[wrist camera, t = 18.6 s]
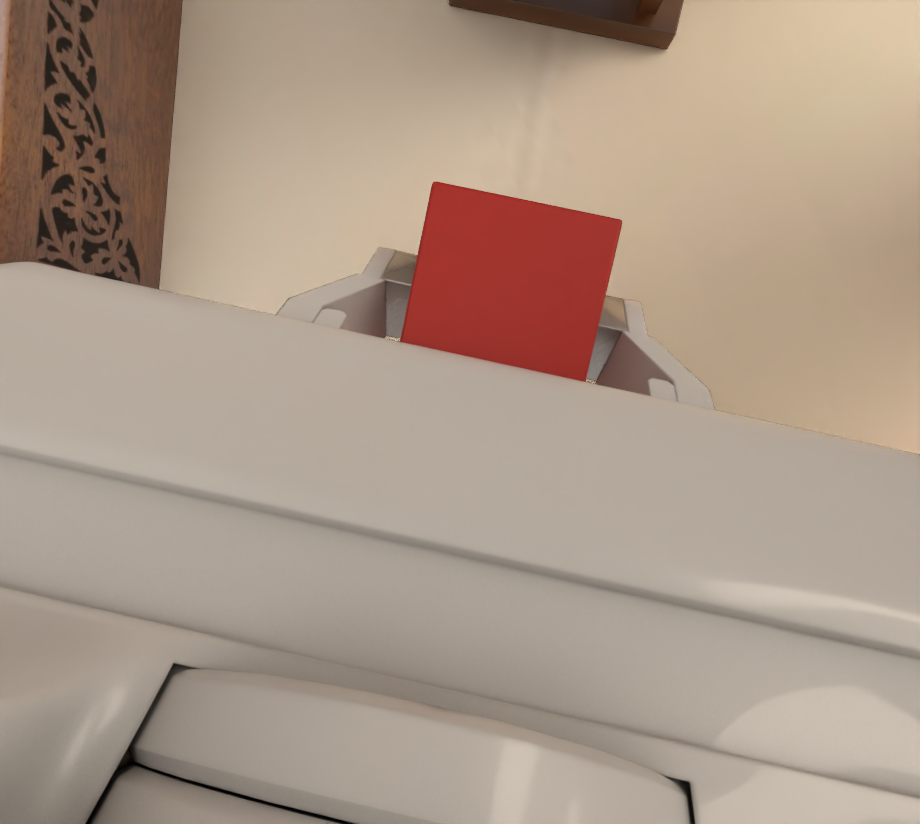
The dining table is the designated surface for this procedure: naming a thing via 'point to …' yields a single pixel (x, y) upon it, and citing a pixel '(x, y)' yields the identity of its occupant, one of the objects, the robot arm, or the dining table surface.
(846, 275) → the dining table surface
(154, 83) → the tissue box cover
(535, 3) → the wooden lectern stand
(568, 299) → the tall red pillar
